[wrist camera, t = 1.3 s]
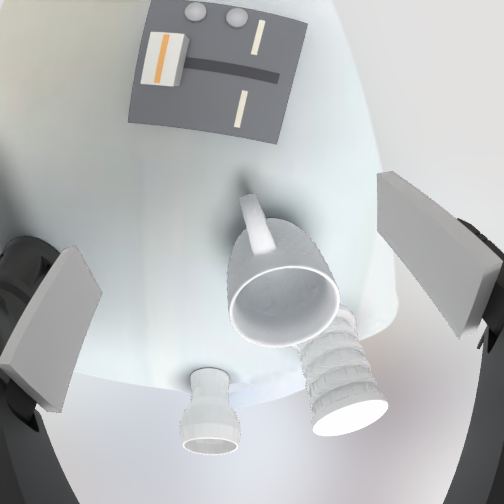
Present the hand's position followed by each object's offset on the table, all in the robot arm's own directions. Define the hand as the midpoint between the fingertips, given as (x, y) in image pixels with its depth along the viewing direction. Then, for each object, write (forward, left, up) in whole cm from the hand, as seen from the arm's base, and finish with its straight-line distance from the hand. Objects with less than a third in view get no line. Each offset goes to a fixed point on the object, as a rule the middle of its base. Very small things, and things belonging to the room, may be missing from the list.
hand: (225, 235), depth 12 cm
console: (-2, +7, -23) cm, 24 cm away
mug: (+8, -12, -23) cm, 27 cm away
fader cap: (-7, +7, -21) cm, 23 cm away
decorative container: (+22, -28, -23) cm, 42 cm away
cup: (+5, -45, -23) cm, 51 cm away
